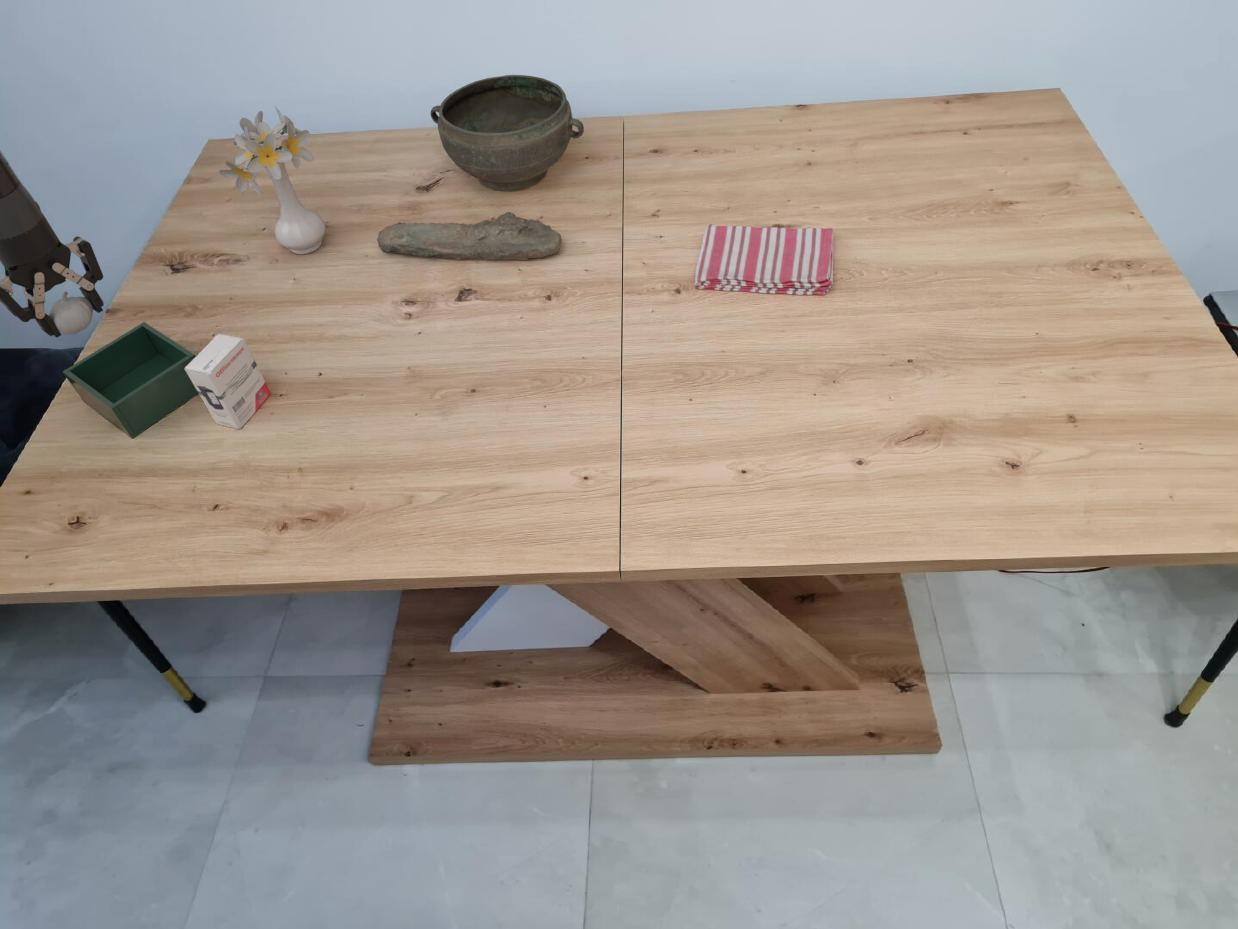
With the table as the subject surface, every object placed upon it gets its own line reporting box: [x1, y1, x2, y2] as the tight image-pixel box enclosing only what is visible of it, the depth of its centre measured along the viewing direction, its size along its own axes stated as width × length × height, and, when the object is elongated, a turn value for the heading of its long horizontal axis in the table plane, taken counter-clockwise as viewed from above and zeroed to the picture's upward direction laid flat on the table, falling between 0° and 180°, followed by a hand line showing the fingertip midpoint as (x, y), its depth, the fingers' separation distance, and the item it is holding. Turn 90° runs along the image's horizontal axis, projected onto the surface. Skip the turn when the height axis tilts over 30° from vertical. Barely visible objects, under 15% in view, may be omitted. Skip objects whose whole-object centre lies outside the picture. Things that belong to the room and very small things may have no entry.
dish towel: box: [693, 223, 834, 296], centre depth 156 cm, size 17×23×4 cm
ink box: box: [184, 333, 272, 430], centre depth 137 cm, size 8×5×12 cm, turn 160°
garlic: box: [48, 291, 94, 336], centre depth 128 cm, size 6×5×5 cm
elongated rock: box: [376, 211, 563, 261], centre depth 165 cm, size 35×5×10 cm
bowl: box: [430, 74, 585, 193], centre depth 178 cm, size 32×26×15 cm
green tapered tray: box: [62, 321, 199, 440], centre depth 143 cm, size 15×15×7 cm
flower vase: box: [218, 104, 327, 255], centre depth 161 cm, size 13×18×25 cm
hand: (77, 321), depth 129 cm, fingers closed on garlic, 6 cm apart
